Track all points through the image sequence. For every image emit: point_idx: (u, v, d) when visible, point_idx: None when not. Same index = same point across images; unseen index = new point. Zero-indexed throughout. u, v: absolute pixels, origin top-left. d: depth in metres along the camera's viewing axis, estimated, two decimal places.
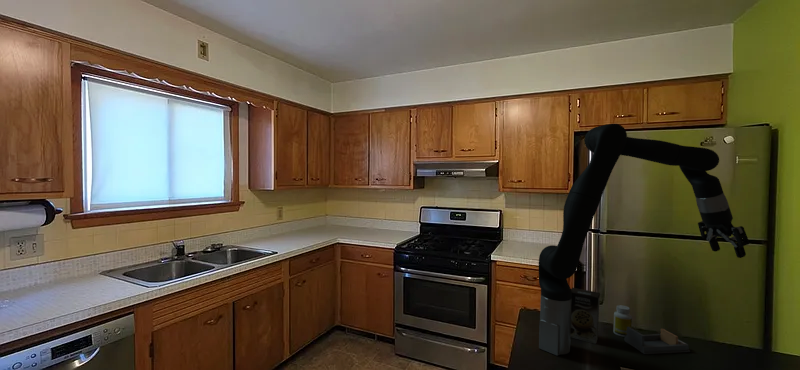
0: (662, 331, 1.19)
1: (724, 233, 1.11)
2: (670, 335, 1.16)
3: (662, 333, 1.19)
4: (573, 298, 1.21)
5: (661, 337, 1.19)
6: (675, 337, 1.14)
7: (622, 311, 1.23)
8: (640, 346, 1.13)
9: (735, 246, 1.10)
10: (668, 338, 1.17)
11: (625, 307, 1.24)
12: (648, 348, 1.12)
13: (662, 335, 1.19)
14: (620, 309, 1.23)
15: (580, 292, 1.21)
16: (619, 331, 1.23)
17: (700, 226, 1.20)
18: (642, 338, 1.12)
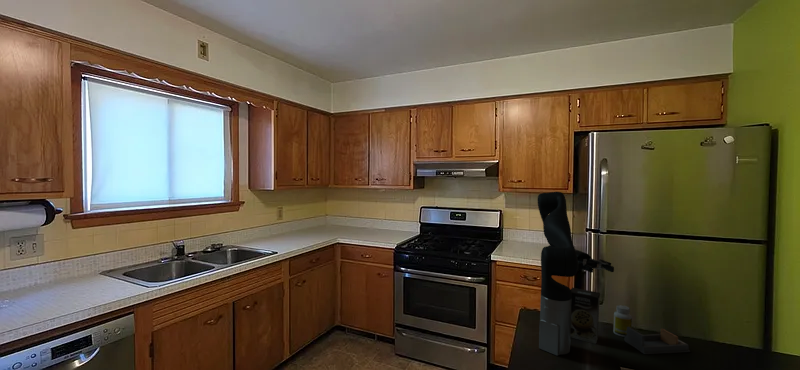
0: (662, 331, 1.19)
1: None
2: (670, 335, 1.16)
3: (662, 333, 1.19)
4: (573, 298, 1.21)
5: (661, 337, 1.19)
6: (675, 337, 1.14)
7: (622, 311, 1.23)
8: (640, 346, 1.13)
9: (606, 263, 1.40)
10: (668, 338, 1.17)
11: (625, 307, 1.24)
12: (648, 348, 1.12)
13: (662, 335, 1.19)
14: (620, 309, 1.23)
15: (580, 292, 1.21)
16: (619, 331, 1.23)
17: None
18: (642, 338, 1.12)
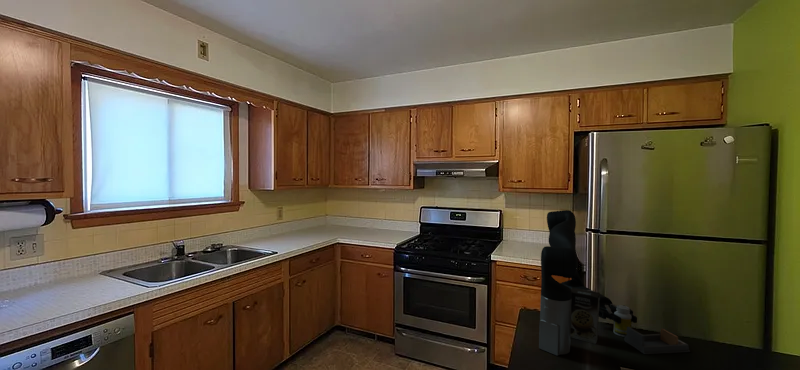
0: (662, 331, 1.19)
1: None
2: (670, 335, 1.16)
3: (662, 333, 1.19)
4: (573, 298, 1.21)
5: (661, 337, 1.19)
6: (675, 337, 1.14)
7: (622, 311, 1.23)
8: (640, 346, 1.13)
9: None
10: (668, 338, 1.17)
11: (625, 307, 1.24)
12: (648, 348, 1.12)
13: (662, 335, 1.19)
14: (620, 309, 1.23)
15: (580, 292, 1.21)
16: (619, 331, 1.23)
17: None
18: (642, 338, 1.12)
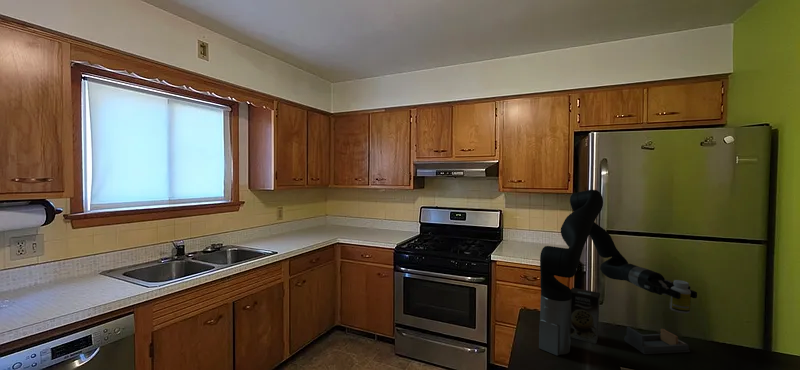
0: (662, 331, 1.19)
1: None
2: (670, 335, 1.16)
3: (662, 333, 1.19)
4: (573, 298, 1.21)
5: (661, 337, 1.19)
6: (675, 337, 1.14)
7: (681, 286, 1.15)
8: (640, 346, 1.13)
9: None
10: (668, 338, 1.17)
11: (683, 282, 1.16)
12: (648, 348, 1.12)
13: (662, 335, 1.19)
14: (678, 283, 1.16)
15: (580, 292, 1.21)
16: (677, 307, 1.15)
17: (649, 283, 1.22)
18: (642, 338, 1.12)
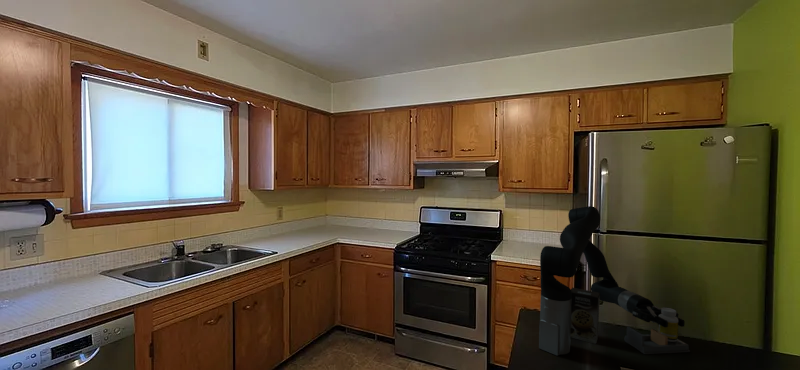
0: (652, 331, 1.19)
1: None
2: (660, 335, 1.15)
3: (652, 333, 1.19)
4: (573, 298, 1.21)
5: (651, 337, 1.19)
6: (665, 337, 1.14)
7: (668, 314, 1.15)
8: (640, 346, 1.13)
9: None
10: (658, 338, 1.16)
11: (671, 310, 1.16)
12: (648, 348, 1.12)
13: (652, 335, 1.18)
14: (665, 311, 1.15)
15: (580, 292, 1.21)
16: (665, 335, 1.15)
17: (637, 310, 1.22)
18: (642, 338, 1.12)
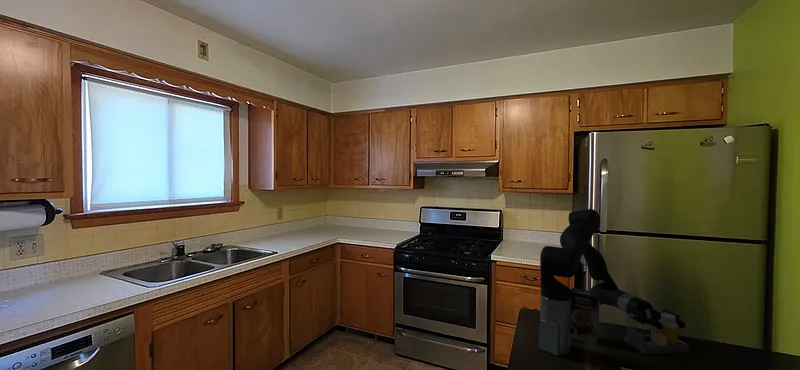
0: (652, 331, 1.19)
1: None
2: (660, 335, 1.15)
3: (652, 333, 1.19)
4: (573, 298, 1.21)
5: (651, 337, 1.19)
6: (665, 337, 1.14)
7: (668, 320, 1.15)
8: (640, 346, 1.13)
9: None
10: (658, 338, 1.16)
11: (670, 315, 1.17)
12: (648, 348, 1.12)
13: (652, 335, 1.18)
14: (665, 317, 1.16)
15: (580, 292, 1.21)
16: None
17: (634, 312, 1.23)
18: (642, 338, 1.12)
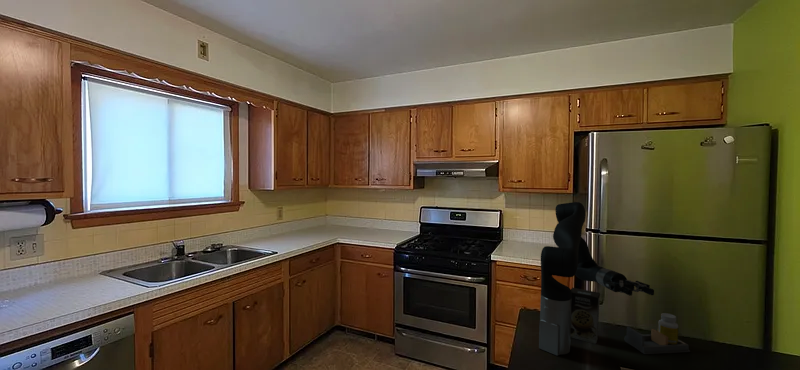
0: (653, 331, 1.19)
1: None
2: (660, 335, 1.15)
3: (653, 333, 1.19)
4: (573, 298, 1.21)
5: (652, 337, 1.19)
6: (665, 337, 1.14)
7: (668, 320, 1.15)
8: (640, 346, 1.13)
9: (645, 285, 1.31)
10: (658, 338, 1.16)
11: (671, 315, 1.17)
12: (648, 348, 1.12)
13: (653, 335, 1.19)
14: (665, 317, 1.16)
15: (580, 292, 1.21)
16: None
17: (609, 282, 1.35)
18: (642, 338, 1.12)
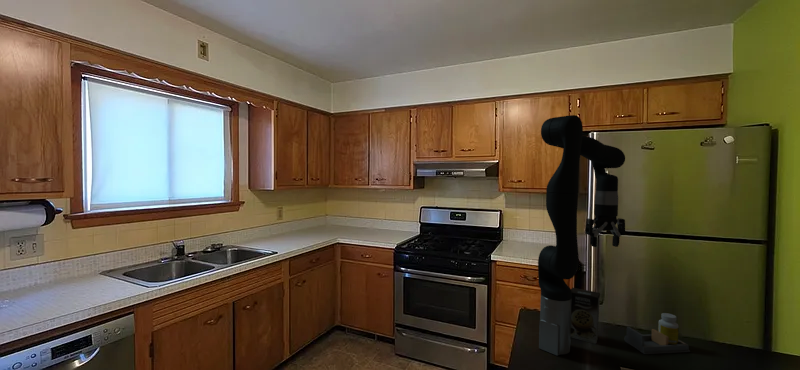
0: (653, 331, 1.19)
1: None
2: (661, 335, 1.15)
3: (653, 333, 1.19)
4: (573, 298, 1.21)
5: (652, 337, 1.19)
6: (665, 337, 1.14)
7: (668, 320, 1.15)
8: (640, 346, 1.13)
9: (619, 236, 1.29)
10: (659, 338, 1.16)
11: (671, 315, 1.17)
12: (648, 348, 1.12)
13: (653, 335, 1.19)
14: (666, 317, 1.16)
15: (580, 292, 1.21)
16: None
17: (592, 223, 1.28)
18: (642, 338, 1.12)
